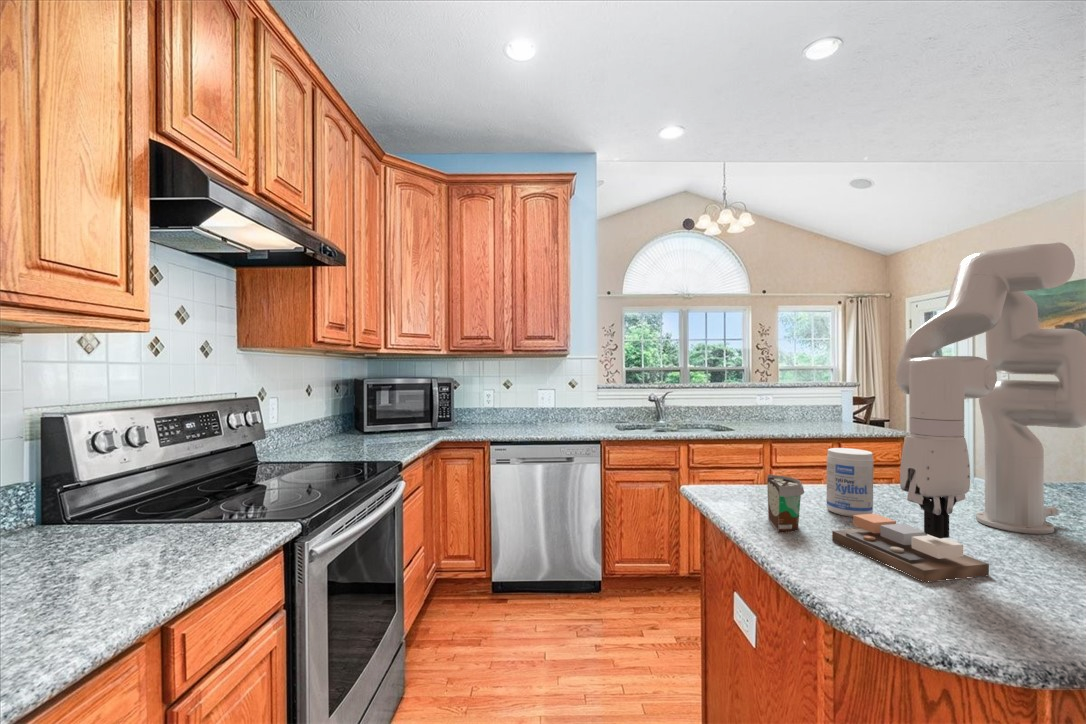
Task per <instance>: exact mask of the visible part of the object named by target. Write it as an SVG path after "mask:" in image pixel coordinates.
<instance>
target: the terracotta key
mask: <svg viewBox="0 0 1086 724" xmlns="http://www.w3.org/2000/svg"><path fill="white" fill-rule="evenodd" d="M890 524H897V520H894V519H891V518H888V517H885V516H882V515H880V514H877V513H872V514H862V515H853V517H852V525H853V526H855V527H856V528H857V527H858V529H864V530H867V531H869V532H872V533H881V528H880V525H890Z"/></svg>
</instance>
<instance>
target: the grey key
mask: <svg viewBox="0 0 1086 724" xmlns="http://www.w3.org/2000/svg"><path fill="white" fill-rule="evenodd" d="M880 528H881V536H882V537H885V538H887V539H890V540H892V541H895V542H897V543H900V544H902V545H911V544H912V537H914V536H926V535H928V534H926V533H925V532H924V529H920V528H918V527H914V526H912V525H908V524H905V523H903V522H902V523H896V524H890V525H880Z"/></svg>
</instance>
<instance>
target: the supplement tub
mask: <svg viewBox="0 0 1086 724" xmlns="http://www.w3.org/2000/svg"><path fill="white" fill-rule="evenodd" d="M826 455H827V456H826V499H825V500H826V501H825V502H826V503H825V505H826V509H827V510H828V511H830V512H832V513H834V514H837V515H841V516H844V517H852V518H853V515H862V514H874V512H873V511H874V458H873V457H874V454H873V452H872V451H869V450H865V449H858V448H851V447H850V448H849V447H848V448H847V447H832V448H828V449H827V454H826Z"/></svg>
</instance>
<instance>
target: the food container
mask: <svg viewBox="0 0 1086 724" xmlns="http://www.w3.org/2000/svg"><path fill="white" fill-rule="evenodd" d="M766 475H767V477H766V484H767V512H768V513H767V515H768V516H767V517H768V518H767V519H768V520H769V522H770V523H771V524H772V526H773V527H774V528H775V530H776V531H777V532H778V533H780V534H781V533H782V532H783V534H785V533H794V532H796V531H798V530H799V522H800V512H801V511H800V509H801V499H802V497H801V496H802V495H804V494H805V489H804V485H803V484H802V481H801V480H800V479H797V478H793V477H790V476H784V475H779V474H766Z"/></svg>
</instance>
